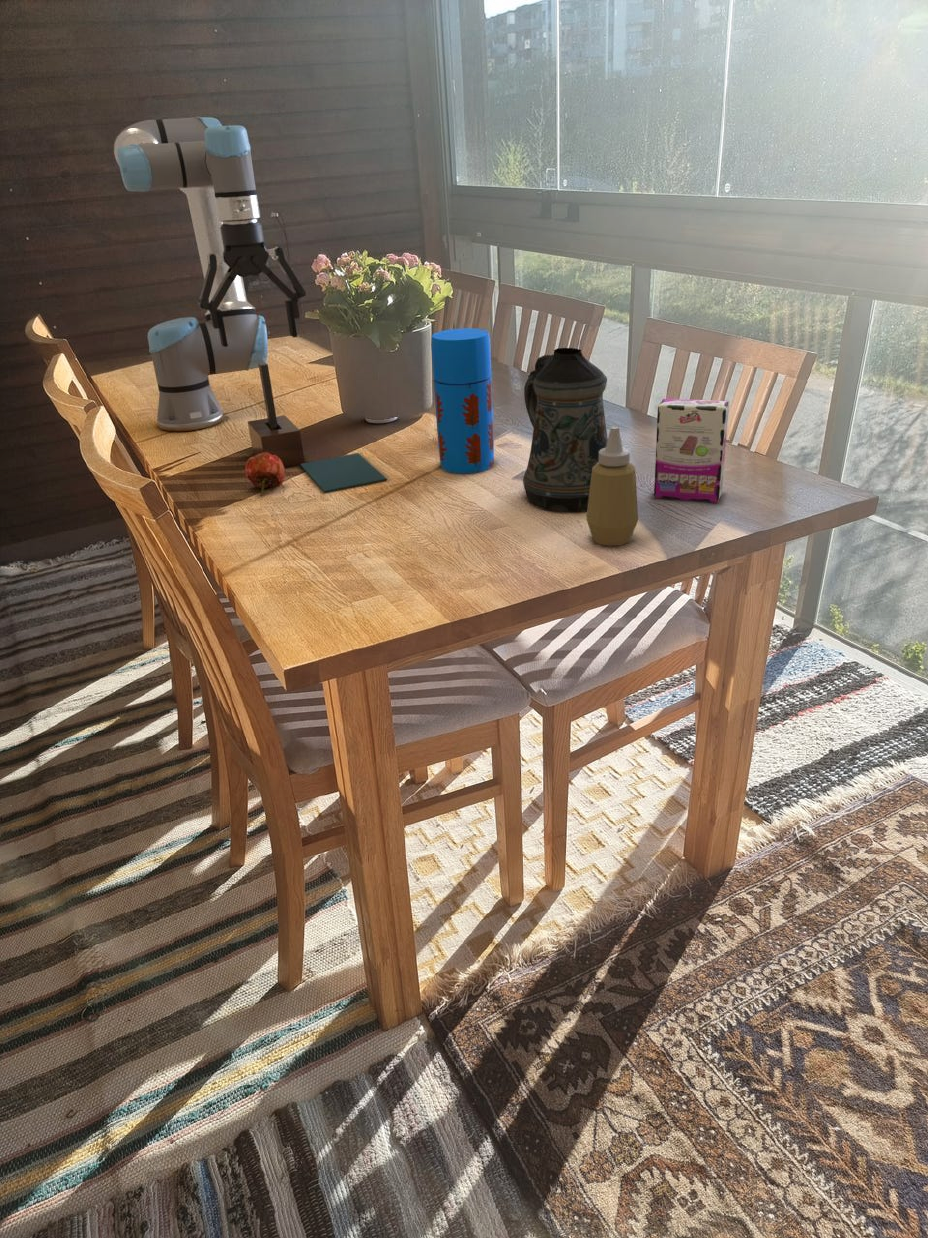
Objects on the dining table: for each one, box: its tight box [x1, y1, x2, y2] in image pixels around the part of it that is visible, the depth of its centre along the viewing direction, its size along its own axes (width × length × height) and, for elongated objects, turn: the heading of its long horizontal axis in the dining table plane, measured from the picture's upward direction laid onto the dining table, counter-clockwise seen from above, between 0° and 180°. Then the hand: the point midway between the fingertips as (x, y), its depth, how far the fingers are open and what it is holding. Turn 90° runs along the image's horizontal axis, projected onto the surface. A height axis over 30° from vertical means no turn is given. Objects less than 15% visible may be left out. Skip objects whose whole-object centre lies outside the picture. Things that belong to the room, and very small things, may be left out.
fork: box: [258, 362, 277, 431], centre depth 179 cm, size 6×2×20 cm, turn 24°
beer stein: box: [522, 347, 609, 513], centre depth 151 cm, size 16×19×25 cm
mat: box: [299, 452, 388, 494], centre depth 174 cm, size 18×12×1 cm
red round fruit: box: [244, 450, 286, 497], centre depth 166 cm, size 7×7×10 cm
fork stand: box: [247, 414, 306, 469], centre depth 182 cm, size 13×8×7 cm, turn 24°
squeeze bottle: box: [586, 426, 639, 547], centre depth 135 cm, size 8×8×18 cm
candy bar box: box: [653, 398, 730, 503], centre depth 149 cm, size 11×5×16 cm, turn 69°
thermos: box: [430, 327, 495, 475], centre depth 168 cm, size 11×11×25 cm
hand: (259, 340), depth 172 cm, fingers open, 13 cm apart
